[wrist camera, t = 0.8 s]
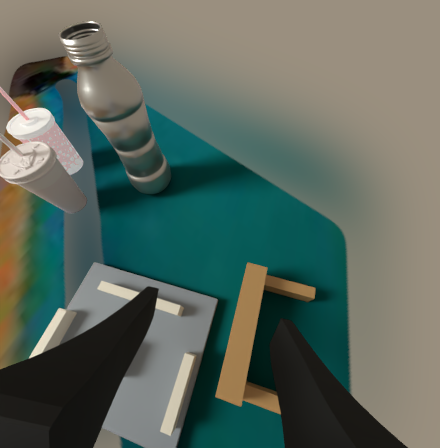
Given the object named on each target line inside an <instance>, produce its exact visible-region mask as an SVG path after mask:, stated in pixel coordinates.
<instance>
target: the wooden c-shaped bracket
mask: <svg viewBox="0 0 440 448" xmlns="http://www.w3.org/2000/svg"><path fill="white" fill-rule="evenodd" d="M266 273H267V267H263V266H259V265H256V264H252V263H248V262H247V266H246V270H245V274H244V279H243V283H242V287H241V291H240V295H239V299H238V304H237V308H236V312H235V316H234V320H233V325H232V329H231V333H230V337H229V341H228V346H227V350H226V354H225V358H224V362H223V366H222V371H221V375H220V379H219V383H218V387H217V392H216V396H215V397H217V398H219V399H222V400H225V401H227V402H230V403H232V404H235V405H238V406H240V407H241V405H242V400H244V401H247V402H249V403H252V404H255V405H257V406H260V407H263V408H265V409H268V410H270V411H273V412H276V413H278V414H281V412H280V406H279V401H278V396H277V392H276V391H273V390H270V389H267V388H265V387H262V386H259V385H256V384H254V383H251V382H248V381H246V379H247V373H248V368H249V363H250V358H251V352H252V347H253V342H254V337H255V331H256V326H257V321H258V316H259V310H260V305H261V300H262V294H263V290H266V291H270V292H274V293H277V294H281V295H284V296H288V297H291V298H295V299H299V300H302V301H306V302H309V301H311V300H313V299H315V288H314V287H310V286H306V285H303V284H299V283H295V282H291V281H288V280H284V279H280V278H276V277H273V276H269V275H266Z"/></svg>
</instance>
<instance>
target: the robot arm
mask: <svg viewBox="0 0 440 448" xmlns="http://www.w3.org/2000/svg"><path fill="white" fill-rule="evenodd" d="M158 291H159V288H155V287H150V286H148V287H146V288H145V289H144V290H142V291H141V292H140V293H139V294H138V295H137V296H135V297H134V298H133V299H132V300H131V301H129V302H128V303H127V304H125V305H124V306H123V307H122V308H120V309H119V310H117V311H116V312H115V313H113V314H112V315H110V316H109V317H107V318H106V319H105V320H103V321H101V322H100V323H98V324H97V325H95V326H93V327H92V328H90V329H88V330H87V331H85V332H83V333H81V334H80V335H78V336H76V337H74V338H72V339H70V340H68V341H66V342H64V343H62V344H60V345H58V346H56V347H54V348H52V349H50V350H47V351H45V352H43V353H41V354H39V355H36V356H34V357H31V358H29V359H27V360H24V361H21V362H19V363H16V364H13V365H11V366H8V367H6V368H3V369H0V448H93V447H94V444H95V442H96V440H97V437H98V435H99V432H100V430H101V428H102V425H103V423H104V421H105V418H106V416H107V414H108V411H109V409H110V407H111V404H112V402H113V400H114V397H115V395H116V393H117V391H118V388H119V386H120V384H121V382H122V380H123V378H124V376H125V374H126V372H127V370H128V368H129V366H130V364H131V363H132V361H133V359H134V357H135V355H136V353H137V351H138V350H139V348H140V346H141V344H142V342H143V340H144V338H145V336H146V334H147V332H148V330H149V327H150V325H151V322H152V320H153V317H154V313H155V307H156V302H157V296H158ZM270 357H271V366H272V371H273V376H274V381H275V386H276V391H277V396H278V401H279V406H280V412H281V418H282V425H283V434H284V443H285V448H408V447H406V446H405V445H404V444H403V443H402V442H400V441H399V440H398V439H397V438H396V437H395V436H394V435H393V434H391V433H390V432H389V431H388V430H387V429H386V428H385V427H383V426H382V425H381V424H380V423H379V422H378V421H377V420H376V419H375V418H374V417H373V416H372V415H371V414H369V412H368V411H367V410H366V409H364V408H363V407H362V406H361V405H360V404H359V403H358V402H357V401H356V400H355V399H354V398H353V396H352V395H351V394H350V393H349V392H348V391H347V390H346V389H345V388H344V387H343V386H342V385H341V384H340V382H339V381H338V380H337V379H336V378H335V377H334V376H333V374H332V373H331V372H330V371H329V370H328V368H327V367H326V366H325V365H324V363H323V362H322V361H321V360H320V358H319V357H318V356H317V355H316V353H315V352H314V351H313V349H312V348H311V347H310V345H309V344H308V343H307V341H306V340H305V338H304V337H303V336H302V334H301V333H300V332H299V330H298V329H297V328H296V326H295V325H294V324H293V322H292V321H290V320H286V319H282V318H281V320H280V322H279V324H278V326H277V329H276V331H275V333H274V335H273V338H272V340H271V342H270Z"/></svg>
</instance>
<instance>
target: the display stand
mask: <svg viewBox="0 0 440 448" xmlns="http://www.w3.org/2000/svg"><path fill="white" fill-rule="evenodd" d="M148 286H150V287H155V288H159V291H158V296H157V302H156V307H155V313H154V317H153V320H152V322H151V325H150V327H149V330H148V332H147V334H146V336H145V338H144V340H143V342H142V344H141V346H140V348H139V350H138V351H137V353H136V355H135V357H134V359H133V361H132V363H131V364H130V366H129V368H128V370H127V372H126V374H125V376H124V378H123V380H122V382H121V384H120V386H119V388H118V391H117V393H116V395H115V397H114V400H113V402H112V404H111V407H110V409H109V411H108V414H107V416H106V418H105V421H104V423H103V425H102V428H104V429H106V430H108V431H110V432H113V433H115V434H117V435H119V436H121V437H123V438H125V439H128V440H130V441H132V442H134V443H136V444H139V445H141V446H143V447H145V448H177V446H178V442H179V439H180V435H181V432H182V428H183V424H184V421H185V417H186V414H187V410H188V407H189V403H190V399H191V396H192V392H193V389H194V385H195V382H196V378H197V375H198V371H199V367H200V364H201V360H202V357H203V353H204V350H205V346H206V343H207V339H208V335H209V332H210V328H211V325H212V321H213V318H214V314H215V310H216V307H217V303H218V299H216V298H212V297H209V296H206V295H202V294H199V293H196V292H192V291H189V290H186V289H182V288H179V287H176V286H172V285H169V284H166V283H162V282H159V281H156V280H152V279H149V278H146V277H142V276H139V275H136V274H132V273H129V272H126V271H122V270H119V269H116V268H112V267H109V266H106V265H102V264H99V263H95V262H94V263H93V265H92V267H91V268H90V270H89V272H88V274H87V275H86V277H85V279H84V280H83V282H82V284H81V285H80V287H79V289H78V290H77V292H76V294H75V296H74V297H73V299H72V301H71V302H70V304H69V306H68V307H67V309H61V308H59V309H58V311H57V313H56V314H55V316H54V318H53V319H52V321H51V323H50V324H49V326H48V327H47V329H46V331H45V332H44V334H43V336H42V337H41V339H40V341H39V342H38V344H37V346H36V347H35V349H34V351H33V352H32V354H31V355H30V357H29V358H31V357H34V356H36V355H39V354H41V353H43V352H45V351H47V350H50V349H52V348H54V347H56V346H58V345H60V344H62V343H64V342H66V341H68V340H70V339H72V338H74V337H76V336H78V335H80V334H81V333H83V332H85V331H87V330H88V329H90V328H92V327H93V326H95V325H97V324H98V323H100V322H101V321H103V320H105V319H106V318H107V317H109V316H110V315H112V314H113V313H115V312H116V311H117V310H119V309H120V308H122V307H123V306H124V305H125V304H127V303H128V302H129V301H131V300H132V299H133V298H134V297H135V296H137V295H138V294H139V293H140V292H141V291H142V290H144V289H145V288H146V287H148Z"/></svg>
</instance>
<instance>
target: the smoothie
mask: <svg viewBox="0 0 440 448" xmlns="http://www.w3.org/2000/svg"><path fill="white" fill-rule="evenodd" d="M0 140H1V141H2V142H3V143H4V144H6V145H7V146H8V147H9V148H10V149H11V150H9V151H8V152H7V153H6V154H4V156H3V157H2V158H1V159H0V176H1V177H3V178H4V179H5V180H6V181H7V182H9V183H13V184H18V185H20V186H21V187H23V188H25V189H27V190H28V191H30V192H32V193H34V194H35V195H37V196H39V197H41V198H43V199H44V200H46V201H48V202H50V203H51V204H53V205H55V206H57V207H58V208H60V209H62V210H64V211H66V212H67V213H76V212H78V211H80V210H81V209H83V208H84V207H85V205H86V203H87V198H86V196H85V195H84V194H83V193H82V191H81V190H80V189H79V187H78V186H77V184H76V183H75V182H74V180H73V179H72V178H71V176H70V175H69V174H68V172H67V171H66V170H65V168H64V167H63V166H62V164H61V163H60V161H59V160H58V159H57V155H56V152H55V151H54V150H53V149H52V148H51V147H50V146H49V145H48V144H46V143H44V142H39V141H33V142H27V143H24V144H21V145H18V146H14V145H13V144H12V143H11V142H10V141H9V140H8V139H7V138H6V137H4V136H3V135H2V134H1V133H0Z"/></svg>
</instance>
